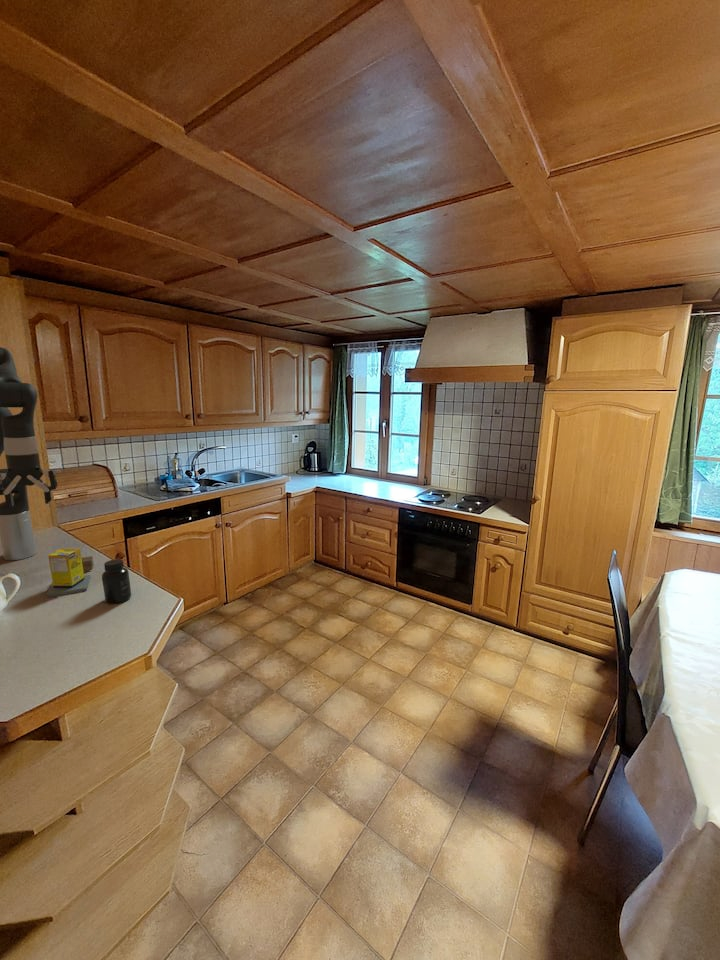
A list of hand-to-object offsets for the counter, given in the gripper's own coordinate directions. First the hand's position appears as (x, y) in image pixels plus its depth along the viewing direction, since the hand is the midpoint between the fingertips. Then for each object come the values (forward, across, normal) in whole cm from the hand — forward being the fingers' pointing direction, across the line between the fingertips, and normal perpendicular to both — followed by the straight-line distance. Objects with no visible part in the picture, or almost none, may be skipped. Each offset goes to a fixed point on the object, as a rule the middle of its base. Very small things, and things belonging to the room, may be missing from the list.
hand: (29, 504), depth 118 cm
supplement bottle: (+26, -22, +20) cm, 40 cm away
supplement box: (+26, -8, +5) cm, 28 cm away
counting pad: (+27, -8, +5) cm, 28 cm away
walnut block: (+27, -11, -8) cm, 30 cm away
